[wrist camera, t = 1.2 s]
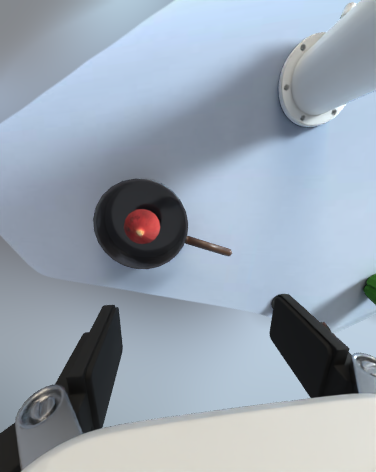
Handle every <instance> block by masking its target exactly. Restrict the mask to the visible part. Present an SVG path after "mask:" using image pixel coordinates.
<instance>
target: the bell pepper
mask: <svg viewBox="0 0 376 472" xmlns="http://www.w3.org/2000/svg"><path fill="white" fill-rule="evenodd" d="M366 283H367V285H366V286H365V288H364V290H363V291H364V292H365V294H366V296H367V297H368V298H369V299H370V300H371V301H372V302H373V303H374V304H375V305H376V274H374V275H372V276H371V277H369V278H368V280H367V281H366Z"/></svg>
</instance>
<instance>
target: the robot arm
mask: <svg viewBox="0 0 376 472" xmlns="http://www.w3.org/2000/svg"><path fill="white" fill-rule="evenodd" d="M278 90H279V99H280V103H281V106H282V109H283V111H284V113H285V114H286V116H287V117H288V118H289V119H290V120H291V121H292V122H293V123H295V124H297V125H299V126H303V127H315V126H319V125H321V124H324V123H326V122H328V121H330V120H332V119H333V118H334V117H336V116H337V115H338V114H339V113H340V111H341V110H342V109H343V108H344V106H345V105H346V103H349V102H351V101H353V100H356V99H358V98H360V97H363V96H365V95H367V94H369V93H372V92H374V91H376V0H361V1H360V2H358V3H357V4H355V3H349V4H347V5H346V6H345V8H344V10H343V12H342V15H341V17H340V20H339V21H338V22H337V23H336V24H334V25H333V26H332V27H331V28H330V29H329V30H328V31H327V32H321V33H316V34H314V35H311V36H309V37H307V38H306V39H305V40H303V41H302V42H301V43H300V44H299V45H298V46H297V47H296V48H295V49H294V50H293V51H292V52H291V54H290V55H289V56H288V58H287V60H286V61H285V63H284V66H283V68H282V71H281V75H280V79H279V88H278ZM270 337H271V340H272V341H273V343H274V344H275V346H276V347H277V349H278V350H279V352H280V353H281V355H282V356H283V358H284V359H285V361H286V362H287V364H288V365H289V366H290V368H291V369H292V371H293V372H294V374H295V375H296V377H297V378H298V380H299V381H300V383H301V384H302V386H303V387H304V389H305V390H306V392H307V393H308V394H309V396H310V397H311V398H308V399H301V400H292V401H284V402H276V403H269V404H261V405H253V406H245V407H238V408H230V409H223V410H215V411H208V412H201V413H194V414H187V415H179V416H171V417H165V418H157V419H151V420H145V421H138V422H132V423H125V424H119V425H115V426H110V427H105V428H102V427H103V423H104V420H105V416H106V412H107V408H108V404H109V401H110V397H111V393H112V389H113V385H114V381H115V377H116V374H117V370H118V366H119V362H120V359H121V355H122V347H123V346H122V337H121V327H120V317H119V309H118V307H115V305H105V306H103V307H102V309H101V311H100V313H99V315H98V317H97V319H96V321H95V322H94V324H93V326H92V328H91V330H90V332H87V333H84V334H83V335H82V337H81V339H80V340H79V342H78V344H77V346H76V348H75V349H74V351H73V353H72V355H71V357H70V358H69V360H68V362H67V364H66V366H65V367H64V369H63V371H62V373H61V375H60V376H59V378H58V380H57V382H56V384H55V385H50V386H47V387H45V388H43V389H40V390H38V391H37V392H36V393H34V394H33V395H32V396H30V397H29V398H28V399H27V400H26V401H25V402H24V404H23V405H22V407H21V408H20V409H19V411H18V413H17V416H16V421H15V423H14V424H12V425H11V426H10V427H8V428H7V429H6V430H4V431H3V432H2V433H0V472H376V358H375V357H373V356H371V355H368V354H364V353H355V354H353V355H351V354H350V353H349V348H348V347H347V346H346V345H345V344H344V343H343V342H342V341H340V340H339V339H338V338H337V337H336V336H335V335H334V334H333V333H331V332H330V331H329V330H328V329H327V328H326V327H325V326H324V325H323V324H321V323H320V322H319V321H318V320H317V319H316V318H315V317H314V316H312V315H311V314H310V313H309V312H308V311H307V310H306V309H305V308H304V307H302V306H301V305H300V304H299V303H298V302H297V301H296V300H295V299H293V298H292V297H291V296H290V295H289V294H281V295H278V296H277V297H276V298H275V301H274V308H273V314H272V321H271V327H270Z"/></svg>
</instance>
